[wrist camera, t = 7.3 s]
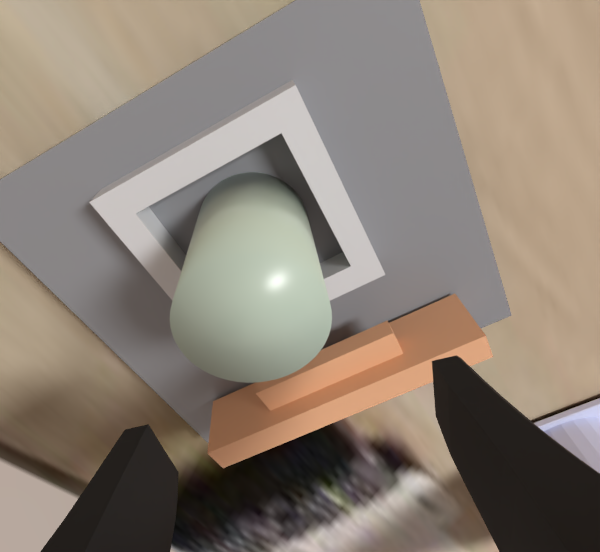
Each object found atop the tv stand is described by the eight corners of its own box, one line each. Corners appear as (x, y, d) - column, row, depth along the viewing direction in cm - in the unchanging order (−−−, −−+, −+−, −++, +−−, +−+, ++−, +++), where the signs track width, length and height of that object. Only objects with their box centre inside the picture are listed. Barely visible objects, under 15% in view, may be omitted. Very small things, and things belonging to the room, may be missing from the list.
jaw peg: (326, 240, 16) (358, 340, 11) (239, 288, 17) (232, 403, 12) (271, 150, 14) (278, 221, 9) (175, 209, 15) (134, 305, 10)
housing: (500, 302, 20) (526, 332, 18) (210, 428, 23) (206, 465, 21) (390, -59, 13) (414, -71, 11) (-23, 192, 15) (-62, 217, 13)
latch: (462, 313, 19) (492, 356, 16) (226, 415, 21) (223, 468, 18) (447, 272, 17) (477, 312, 15) (198, 385, 19) (190, 437, 17)
